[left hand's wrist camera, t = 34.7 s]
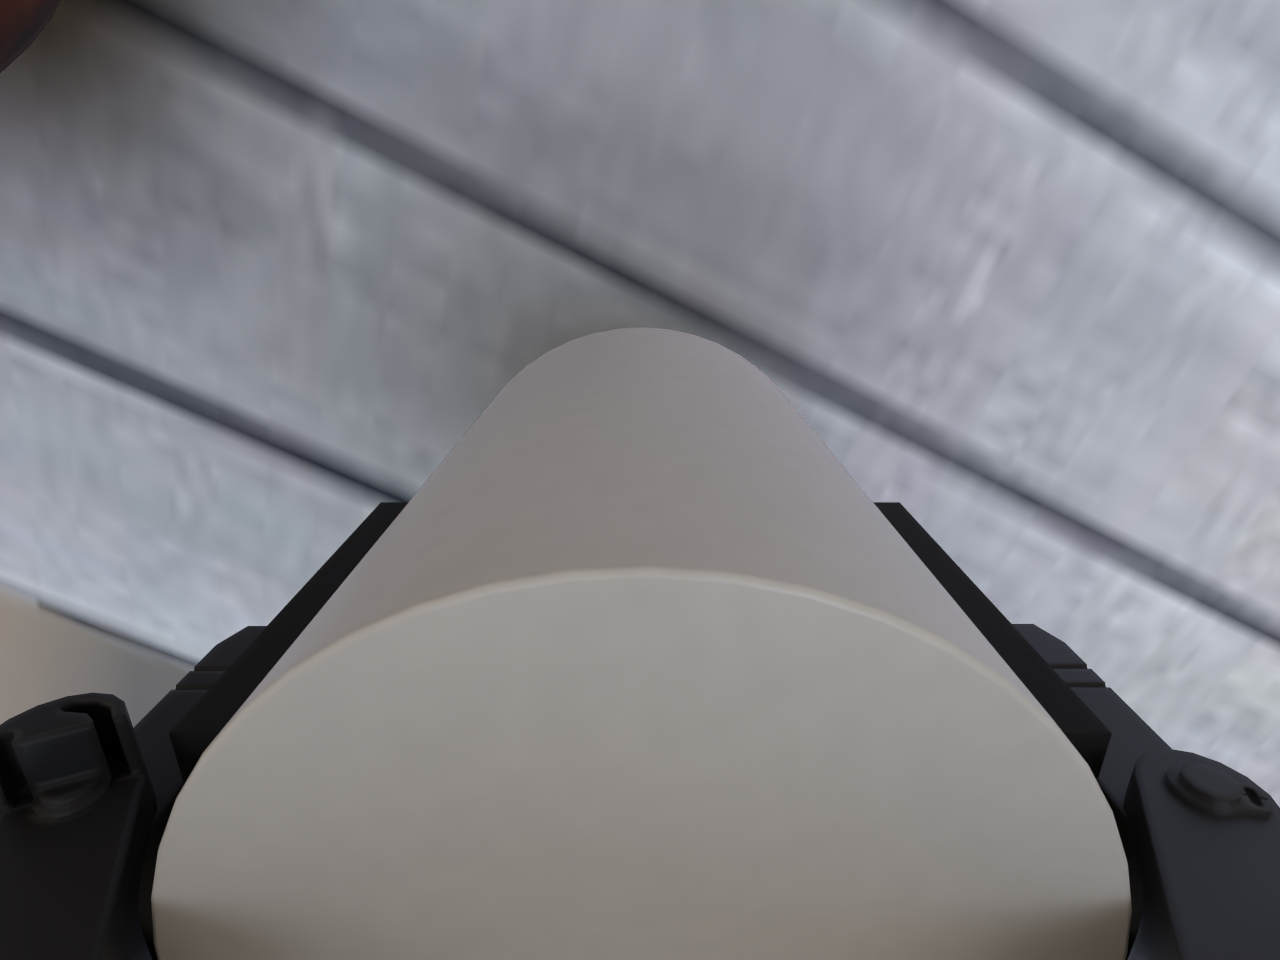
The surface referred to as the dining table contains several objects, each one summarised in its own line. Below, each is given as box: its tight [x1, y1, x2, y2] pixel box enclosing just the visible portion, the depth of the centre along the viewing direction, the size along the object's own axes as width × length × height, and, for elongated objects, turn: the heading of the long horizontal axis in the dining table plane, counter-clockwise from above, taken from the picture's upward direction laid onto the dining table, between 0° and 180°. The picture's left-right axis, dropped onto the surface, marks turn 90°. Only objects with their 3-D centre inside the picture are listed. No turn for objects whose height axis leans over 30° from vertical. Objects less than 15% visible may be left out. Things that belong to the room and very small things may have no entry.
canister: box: [151, 327, 1132, 960], centre depth 12 cm, size 9×9×12 cm
